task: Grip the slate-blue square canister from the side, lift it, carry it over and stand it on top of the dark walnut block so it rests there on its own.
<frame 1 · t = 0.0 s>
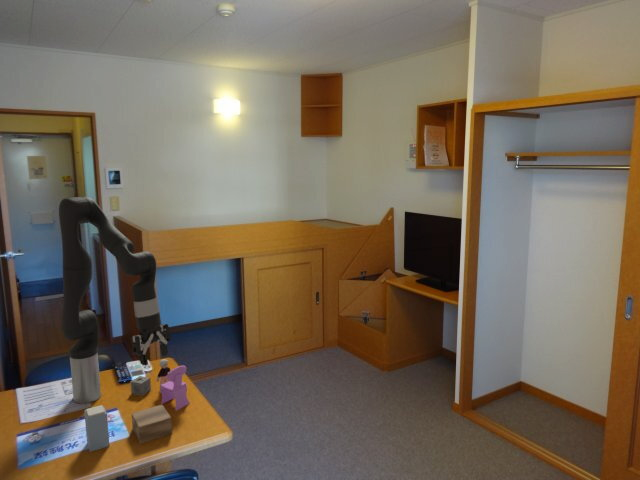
hand: (154, 360, 159), 22 cm above the table, tool pointing down, fingers open, 8 cm apart
slate-blue canister: (98, 444, 150), on the table
walnut block: (152, 432, 157), on the table
dice cube: (141, 392, 184), on the table
grandmother figurine: (165, 390, 185), on the table
toy chair: (175, 403, 176), on the table
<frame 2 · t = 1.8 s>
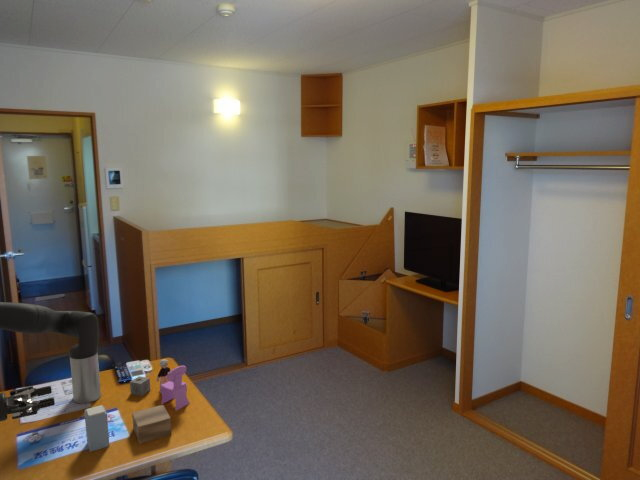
hand: (52, 395, 141), 20 cm above the table, tool horizontal, fingers open, 8 cm apart
nothing on the table moved.
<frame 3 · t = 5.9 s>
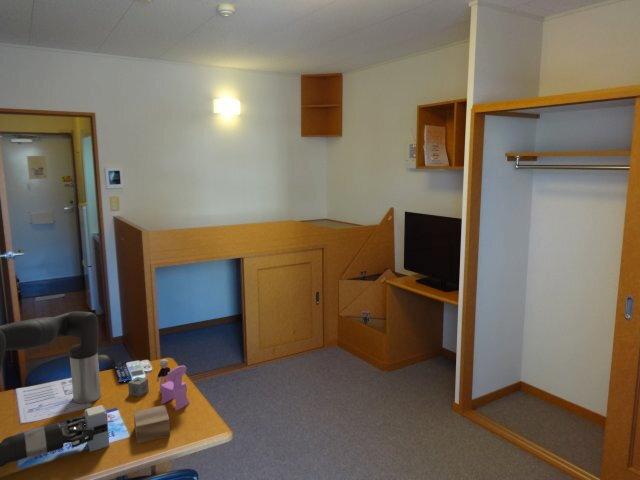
hand: (105, 422, 151), 7 cm above the table, tool horizontal, fingers closed on slate-blue canister, 5 cm apart
slate-blue canister: (98, 444, 150), on the table, touching gripper
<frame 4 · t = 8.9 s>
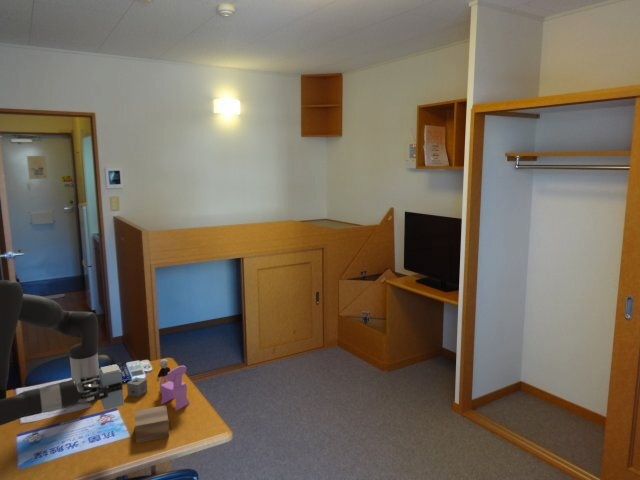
hand: (119, 381, 149), 20 cm above the table, tool horizontal, fingers closed on slate-blue canister, 5 cm apart
slate-blue canister: (112, 403, 149), point 13 cm above the table, touching gripper
when the fingers open (13 cm above the table, at t = 11.9 s): slate-blue canister drops 1 cm, resting on walnut block.
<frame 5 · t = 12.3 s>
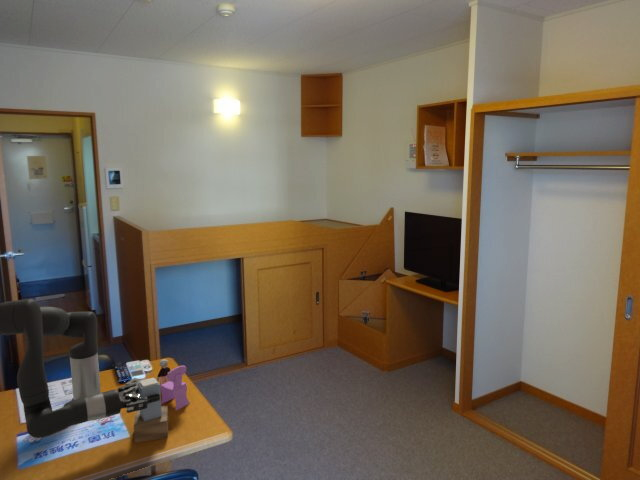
hand: (155, 391, 156), 14 cm above the table, tool horizontal, fingers open, 8 cm apart
slate-blue canister: (150, 415, 156), point 6 cm above the table, touching walnut block
walnut block: (152, 432, 158), on the table, touching slate-blue canister
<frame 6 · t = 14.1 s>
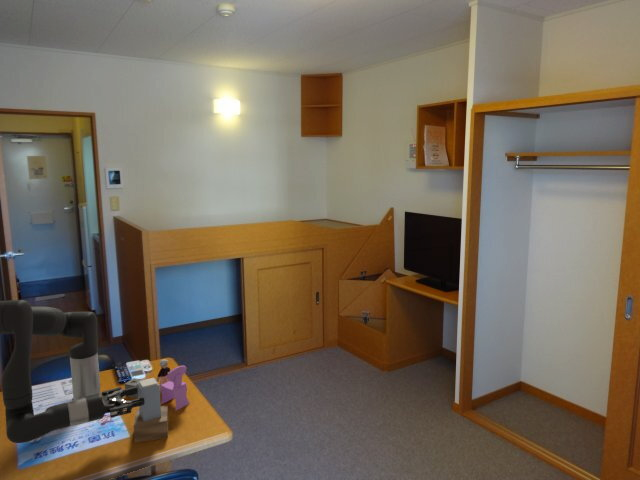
hand: (140, 395, 154), 14 cm above the table, tool horizontal, fingers open, 8 cm apart
slate-blue canister: (150, 415, 156), point 6 cm above the table
walnut block: (152, 432, 158), on the table
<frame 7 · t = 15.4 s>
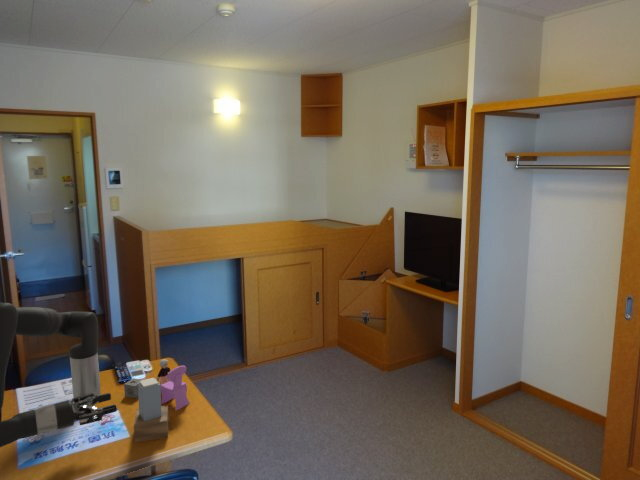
hand: (113, 401, 149), 14 cm above the table, tool horizontal, fingers open, 8 cm apart
slate-blue canister: (150, 415, 156), point 6 cm above the table, touching walnut block
walnut block: (152, 431, 158), on the table, touching slate-blue canister
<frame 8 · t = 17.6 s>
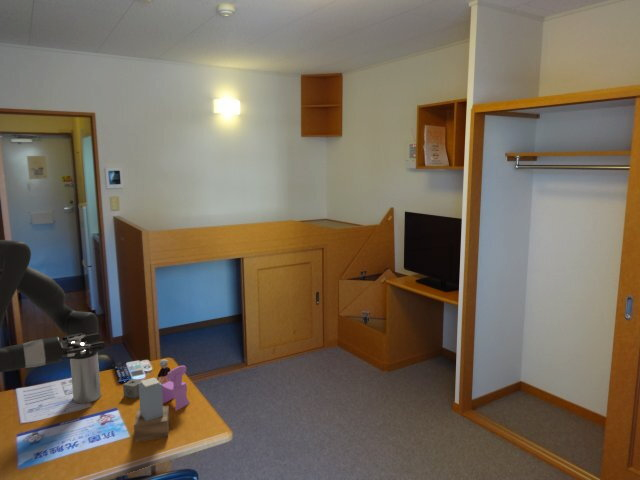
hand: (101, 340, 150), 32 cm above the table, tool horizontal, fingers open, 8 cm apart
at the end: slate-blue canister inside the target area on the walnut block (0.2 cm from its centre), point 6.0 cm above the walnut block's base; slate-blue canister tilted 0°; the gripper is holding nothing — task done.
